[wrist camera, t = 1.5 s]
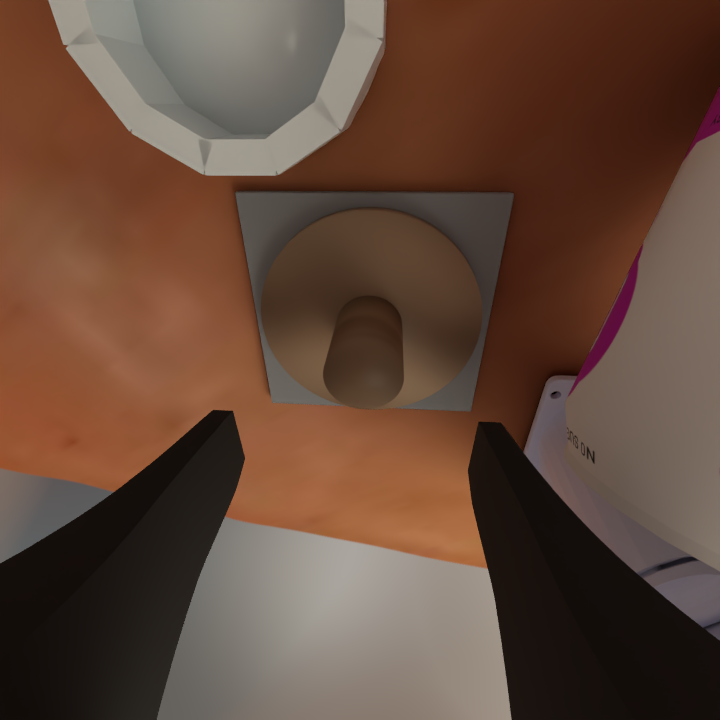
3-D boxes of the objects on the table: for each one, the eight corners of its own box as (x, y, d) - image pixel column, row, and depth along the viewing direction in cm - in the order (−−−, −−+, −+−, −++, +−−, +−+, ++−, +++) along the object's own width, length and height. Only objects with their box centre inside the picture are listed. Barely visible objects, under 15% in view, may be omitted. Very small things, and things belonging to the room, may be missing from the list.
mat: (469, 406, 21) (470, 411, 21) (273, 398, 22) (272, 402, 22) (511, 192, 15) (514, 194, 15) (238, 190, 16) (234, 192, 15)
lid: (462, 403, 21) (478, 475, 17) (279, 395, 21) (253, 462, 17) (498, 207, 15) (535, 244, 11) (249, 205, 16) (199, 239, 12)
